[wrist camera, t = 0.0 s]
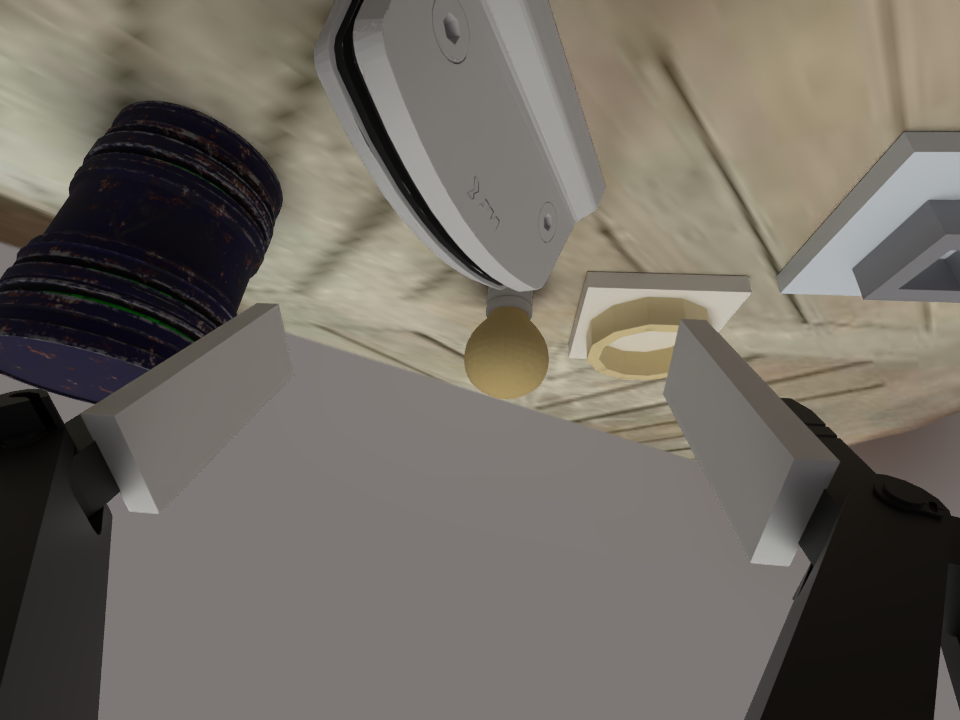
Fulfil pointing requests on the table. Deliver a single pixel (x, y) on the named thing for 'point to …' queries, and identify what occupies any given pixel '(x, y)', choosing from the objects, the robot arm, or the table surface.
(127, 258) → the storage jar
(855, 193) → the square socket
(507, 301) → the light bulb
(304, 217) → the table surface
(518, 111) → the white curved block
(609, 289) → the round socket
